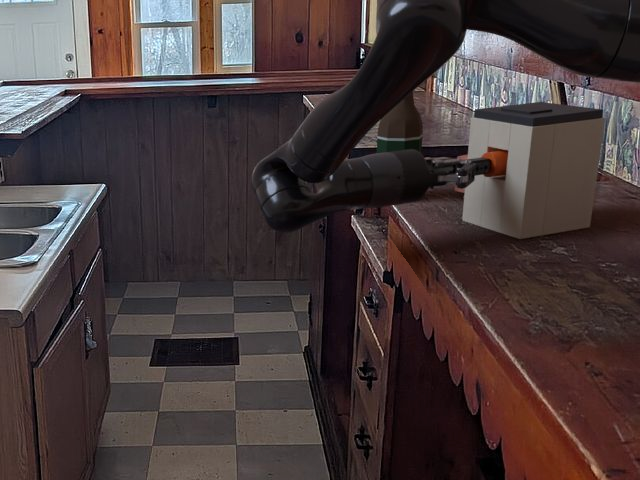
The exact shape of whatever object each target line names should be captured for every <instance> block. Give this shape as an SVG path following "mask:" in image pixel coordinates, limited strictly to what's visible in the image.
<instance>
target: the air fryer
mask: <svg viewBox="0 0 640 480" xmlns="http://www.w3.org/2000/svg"><path fill="white" fill-rule="evenodd" d="M603 115H604V109H601V108H595V107H586V106H578V105H570V104H561V103H555V102H554V103H552V102H545V101H536V102H528V103H517V104H512V105H501V106H493V107H483V108H475V109H474V112H473V117H470V124H469V125H470V126H469V137H468V148H467V149H468V150H467V155H468V159H474V158H481V157H482V155H483V154H485V153H487V152H495V151H502V150H508V160H507V169H506V175H501V176H494V177H485V176H484V175H476V176H475V180H474V181H473V182H472V183H471V184H470V185H469V186H467V187H466V188H465V193H464V195H463V196H464V198H463V207H462V218H461V219H462V222H465V223H469V224H471V225H475V226H476V227H477V226H478V227H481V228H483V229H487V230H489V231H492V232H496V233H499V234H503V235H506V236H508V237H512V238H515V239H518V240H523V239H529V238H534V237H541V236H547V235H552V234H558V233H565V232H570V231H577V230H581V229H589V228H591V221H592V214H593V208H594V202H595V194H596V187H597V180H598V174H599V166H600V160H601V152H602V147H603V146H602V145H603V138H604V131H605V125H606V118H605V117H603Z"/></svg>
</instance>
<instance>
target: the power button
mask: <svg viewBox="0 0 640 480" xmlns="http://www.w3.org/2000/svg"><path fill="white" fill-rule="evenodd" d="M482 157H483V158H488V159H490V160H491V168H490V172H489V173H488V174H483V175H484V176H485V177H494V176H501V175H506V169H507V160H508V150H502V151H495V152H487V153H485V154H483V155H482Z"/></svg>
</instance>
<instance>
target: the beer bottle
mask: <svg viewBox="0 0 640 480" xmlns="http://www.w3.org/2000/svg"><path fill="white" fill-rule="evenodd" d="M423 126H424V125H423V120H422V117H421V114H420V112H419V110H418V109H417V106H416V105H415V97H414V91H413V92H411V93H410V94H409V95H408V96H407V97H406V98H405V99H404V100H402V101H401V102H400V103H399V104H398V105H397V106H395V107H394V108H393V109H392V110H391V111H390V112H389V113H387V114H386V115H385V116H384V117H383V118H382V119H381V120H380V121H379V122H378V127H377V135H376V154H377V153H384V152H392V151H400V150H407V149H414V150H417V151H418V152H420V153H421V154H422V153H423V151H422V150H423V136H424V135H423V134H424V131H423V130H424V129H423Z"/></svg>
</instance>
